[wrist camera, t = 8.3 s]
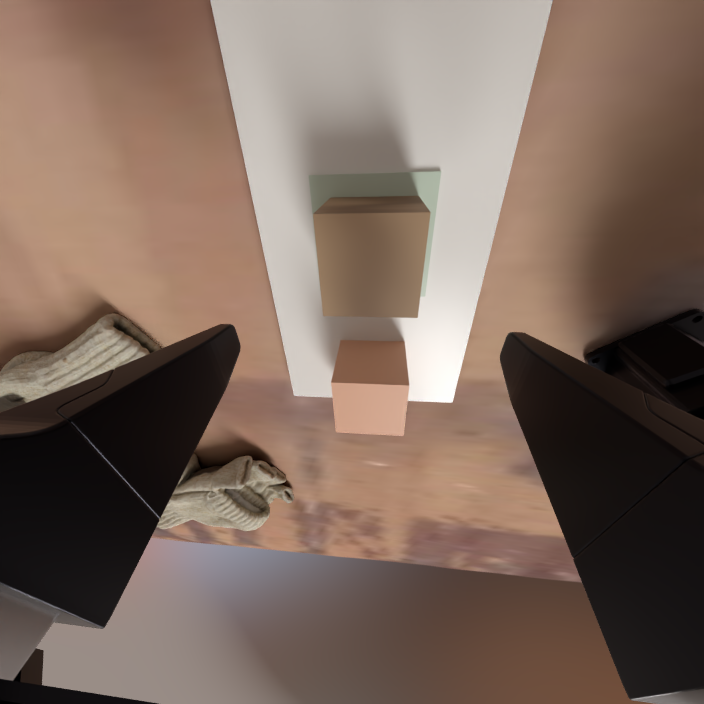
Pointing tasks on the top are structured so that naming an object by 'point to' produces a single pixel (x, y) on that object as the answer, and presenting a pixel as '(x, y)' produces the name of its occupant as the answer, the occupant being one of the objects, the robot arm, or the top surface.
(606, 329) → the top surface
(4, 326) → the top surface
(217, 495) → the pair of gloves
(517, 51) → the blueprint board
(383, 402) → the terracotta block
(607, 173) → the top surface
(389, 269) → the walnut block
